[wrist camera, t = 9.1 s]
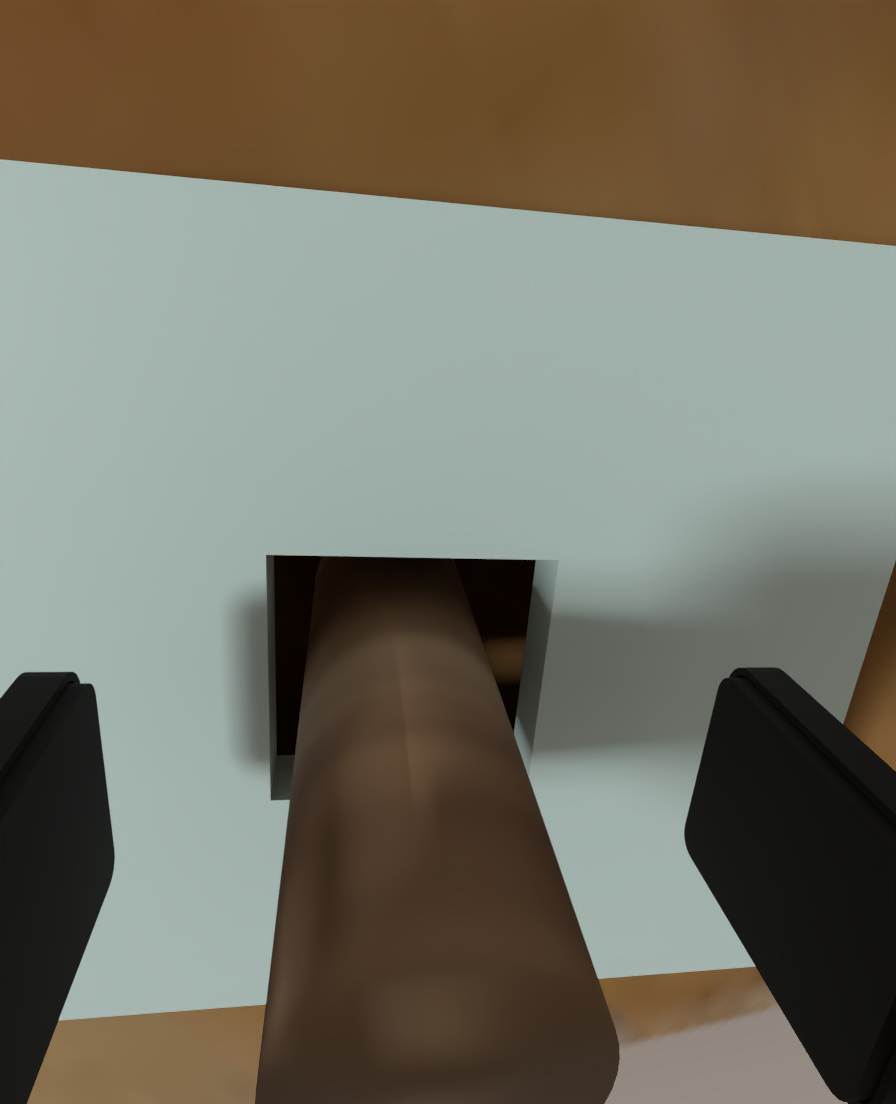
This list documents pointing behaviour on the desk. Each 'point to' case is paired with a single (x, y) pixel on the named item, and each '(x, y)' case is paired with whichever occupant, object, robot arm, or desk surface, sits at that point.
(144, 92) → the desk surface
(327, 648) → the long pin
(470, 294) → the hole board
